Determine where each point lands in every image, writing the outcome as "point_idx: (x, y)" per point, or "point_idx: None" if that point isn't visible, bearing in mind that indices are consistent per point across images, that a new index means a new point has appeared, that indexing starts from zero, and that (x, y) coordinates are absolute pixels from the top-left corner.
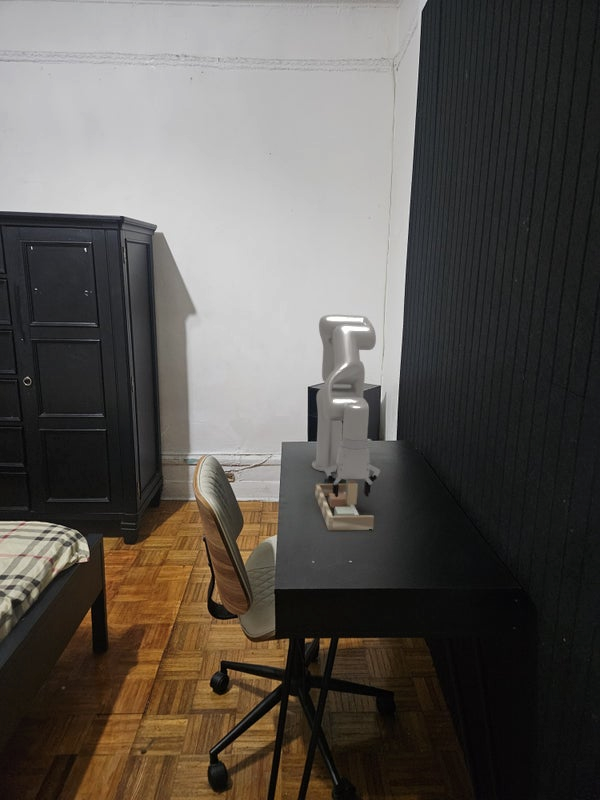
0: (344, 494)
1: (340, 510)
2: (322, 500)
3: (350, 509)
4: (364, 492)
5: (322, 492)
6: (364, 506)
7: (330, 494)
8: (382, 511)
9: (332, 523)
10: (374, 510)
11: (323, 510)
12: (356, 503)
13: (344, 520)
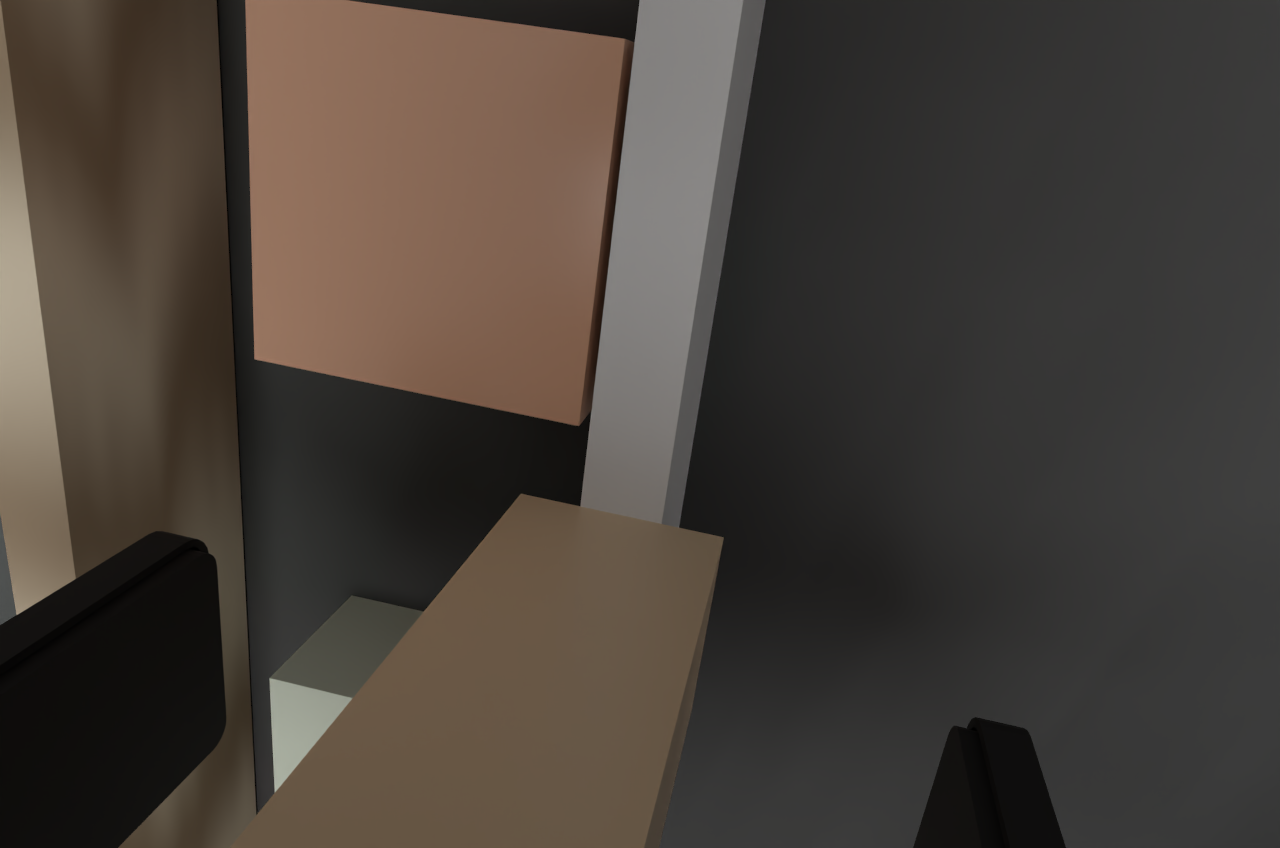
0: (632, 93)
1: None
2: (11, 568)
3: None
4: (942, 796)
5: (11, 154)
6: (1006, 409)
7: (277, 69)
8: (1245, 691)
9: None
10: (1109, 616)
11: None
12: (688, 722)
13: None
